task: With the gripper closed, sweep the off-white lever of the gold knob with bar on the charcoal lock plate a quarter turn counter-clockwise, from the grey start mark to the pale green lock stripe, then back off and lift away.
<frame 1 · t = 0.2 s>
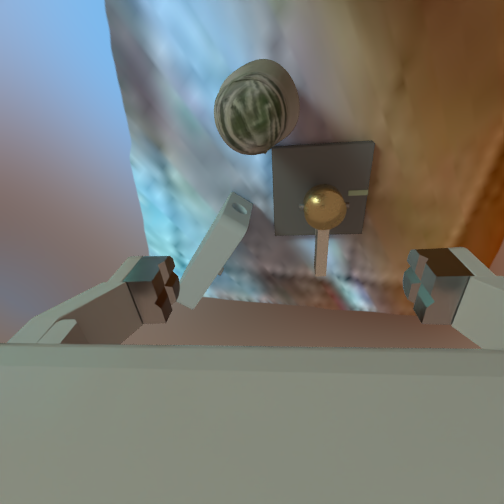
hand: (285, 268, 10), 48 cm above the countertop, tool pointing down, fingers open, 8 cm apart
gold knob with bar: (322, 233, 53), point 8 cm above the countertop, hinge at 0.0°
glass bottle: (264, 98, 50), on the countertop
bar with end hole: (218, 235, 65), on the countertop
lock plate: (318, 190, 57), on the countertop
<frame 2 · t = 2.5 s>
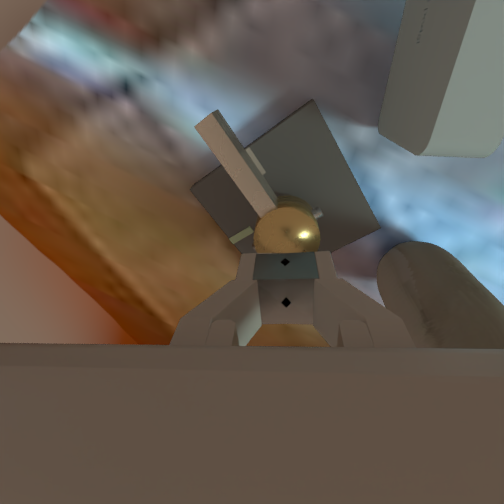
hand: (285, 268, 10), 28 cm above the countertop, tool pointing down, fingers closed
gold knob with bar: (259, 193, 30), point 8 cm above the countertop, hinge at 0.0°
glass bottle: (404, 259, 42), on the countertop
bar with end hole: (432, 0, 27), on the countertop
lock plate: (285, 203, 39), on the countertop
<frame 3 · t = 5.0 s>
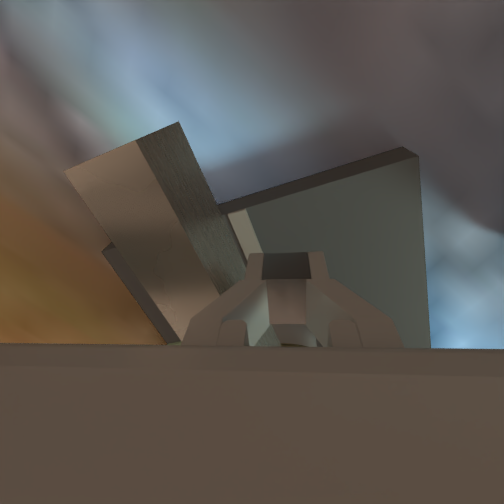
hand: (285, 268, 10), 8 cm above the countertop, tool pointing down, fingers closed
gold knob with bar: (247, 355, 12), point 8 cm above the countertop, hinge at 0.9°, touching gripper
lock plate: (284, 307, 21), on the countertop
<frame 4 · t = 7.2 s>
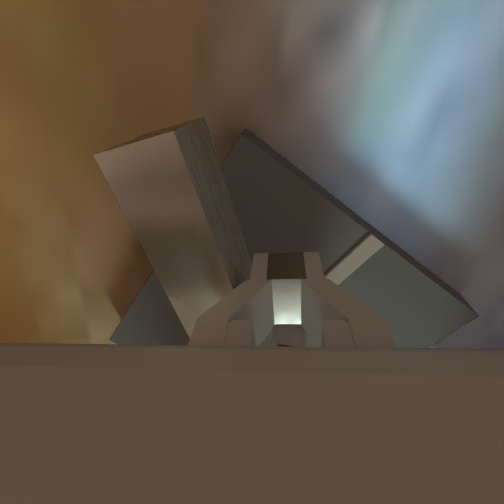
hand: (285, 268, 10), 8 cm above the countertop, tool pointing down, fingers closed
gold knob with bar: (246, 354, 12), point 8 cm above the countertop, hinge at 50.6°, touching gripper
lock plate: (275, 309, 21), on the countertop
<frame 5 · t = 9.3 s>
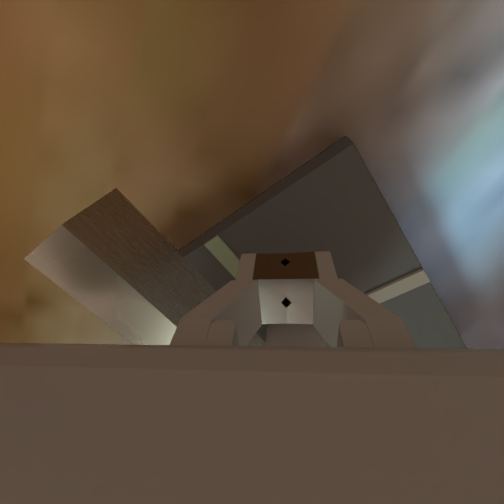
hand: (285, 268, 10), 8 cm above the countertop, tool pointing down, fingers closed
gold knob with bar: (238, 369, 13), point 8 cm above the countertop, hinge at 89.2°
lock plate: (293, 311, 22), on the countertop
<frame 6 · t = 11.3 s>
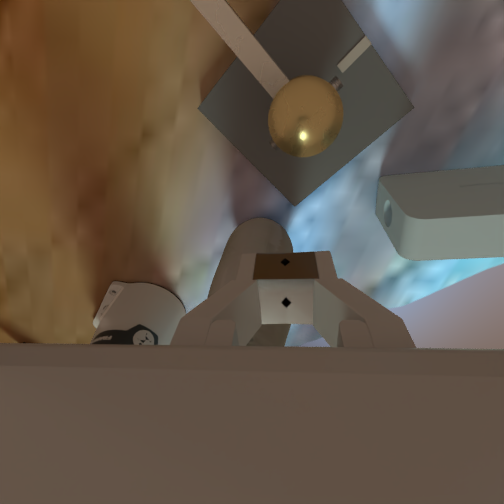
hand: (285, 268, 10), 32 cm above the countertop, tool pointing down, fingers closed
gold knob with bar: (268, 72, 27), point 8 cm above the countertop, hinge at 89.2°
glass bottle: (261, 235, 47), on the countertop
bar with end hole: (463, 185, 39), on the countertop
lock plate: (301, 105, 36), on the countertop
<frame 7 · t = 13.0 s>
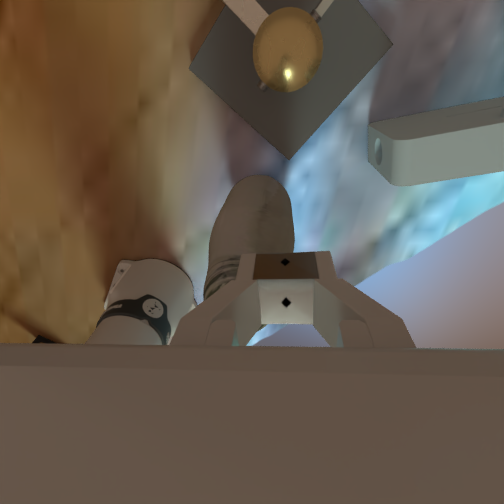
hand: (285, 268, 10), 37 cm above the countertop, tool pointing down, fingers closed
gold knob with bar: (249, 12, 29), point 8 cm above the countertop, hinge at 89.2°
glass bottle: (260, 197, 48), on the countertop
bar with end hole: (451, 125, 40), on the countertop
lock plate: (286, 57, 37), on the countertop
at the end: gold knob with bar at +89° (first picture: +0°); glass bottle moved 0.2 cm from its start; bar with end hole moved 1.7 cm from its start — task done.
